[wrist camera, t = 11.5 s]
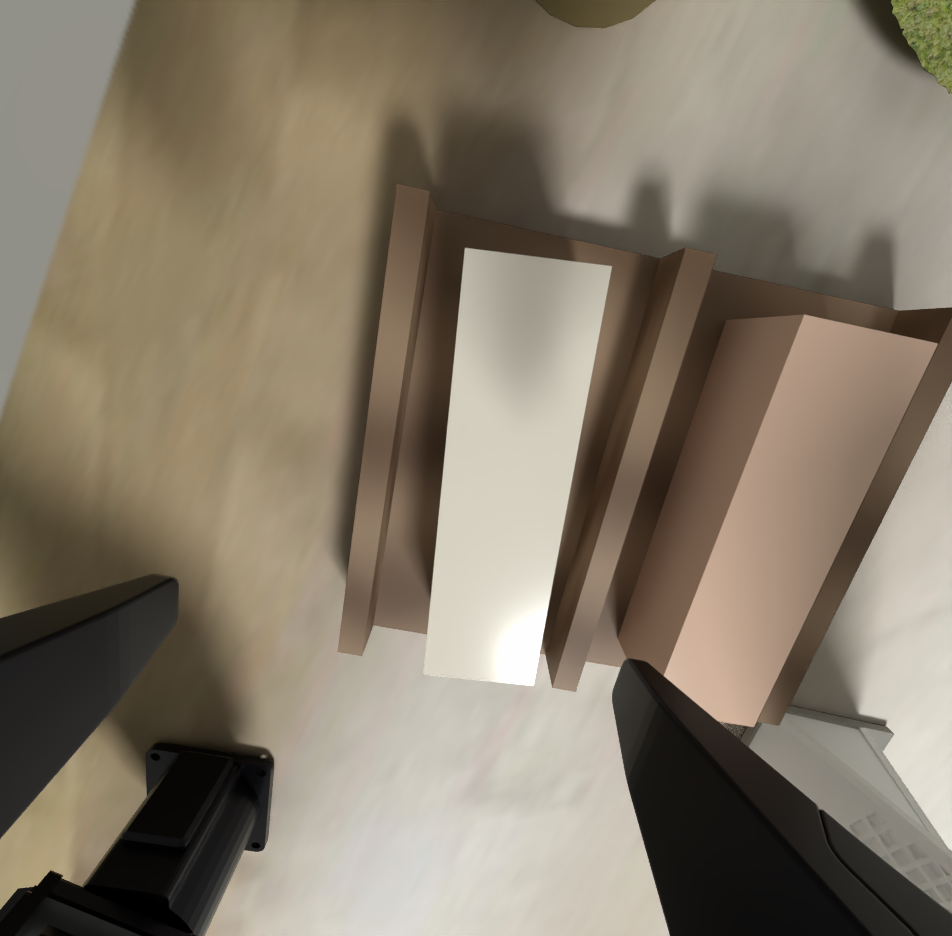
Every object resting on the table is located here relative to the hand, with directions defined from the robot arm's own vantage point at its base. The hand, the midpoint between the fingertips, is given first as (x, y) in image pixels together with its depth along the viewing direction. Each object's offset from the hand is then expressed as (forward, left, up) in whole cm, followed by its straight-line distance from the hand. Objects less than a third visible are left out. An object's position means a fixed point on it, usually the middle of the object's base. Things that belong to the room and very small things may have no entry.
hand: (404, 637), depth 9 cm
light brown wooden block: (+1, -11, -10) cm, 15 cm away
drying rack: (+1, -7, -11) cm, 13 cm away
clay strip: (+1, -2, -10) cm, 10 cm away
